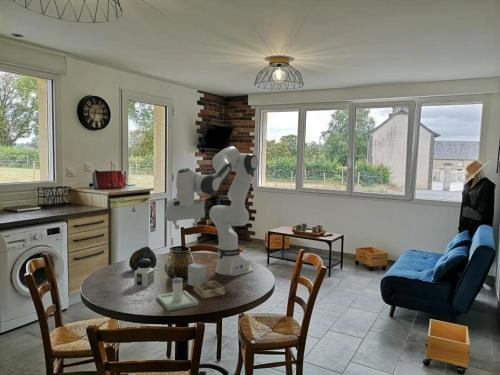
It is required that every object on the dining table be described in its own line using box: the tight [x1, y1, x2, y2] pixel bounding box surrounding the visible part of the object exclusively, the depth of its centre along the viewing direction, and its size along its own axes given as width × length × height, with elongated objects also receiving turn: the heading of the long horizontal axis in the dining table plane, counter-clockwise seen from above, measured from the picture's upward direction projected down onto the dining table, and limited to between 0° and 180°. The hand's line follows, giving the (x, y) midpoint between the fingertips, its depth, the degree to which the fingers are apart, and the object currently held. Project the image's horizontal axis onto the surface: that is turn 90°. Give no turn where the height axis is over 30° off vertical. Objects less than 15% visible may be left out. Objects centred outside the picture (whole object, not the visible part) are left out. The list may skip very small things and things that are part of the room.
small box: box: [187, 262, 207, 287], centre depth 193 cm, size 8×6×10 cm
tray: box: [156, 290, 199, 312], centre depth 170 cm, size 14×16×2 cm
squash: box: [128, 246, 158, 271], centre depth 215 cm, size 14×15×15 cm
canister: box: [171, 277, 184, 302], centre depth 170 cm, size 5×5×10 cm
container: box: [133, 259, 155, 288], centre depth 192 cm, size 8×8×13 cm
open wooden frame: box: [193, 280, 226, 299], centre depth 183 cm, size 12×12×4 cm
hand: (185, 227), depth 187 cm, fingers open, 8 cm apart
